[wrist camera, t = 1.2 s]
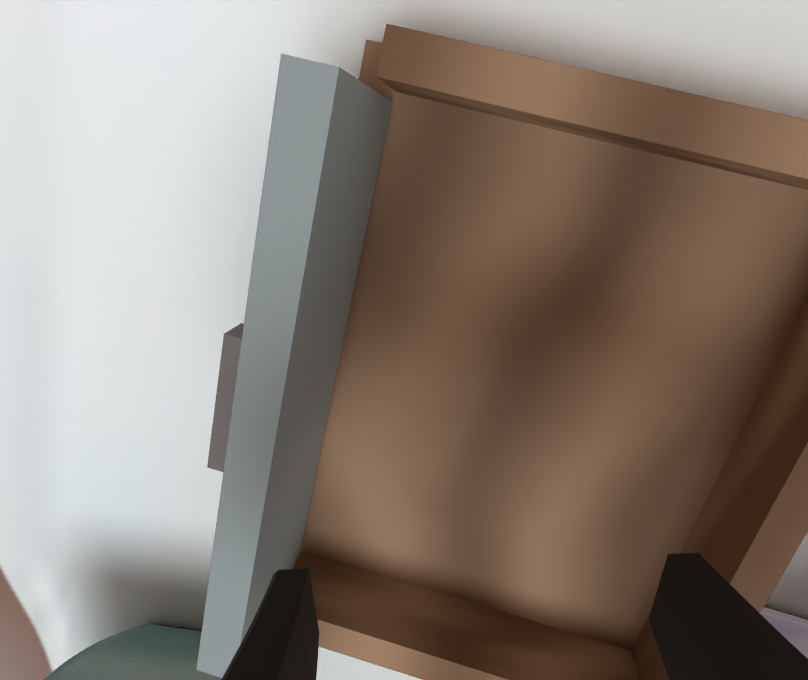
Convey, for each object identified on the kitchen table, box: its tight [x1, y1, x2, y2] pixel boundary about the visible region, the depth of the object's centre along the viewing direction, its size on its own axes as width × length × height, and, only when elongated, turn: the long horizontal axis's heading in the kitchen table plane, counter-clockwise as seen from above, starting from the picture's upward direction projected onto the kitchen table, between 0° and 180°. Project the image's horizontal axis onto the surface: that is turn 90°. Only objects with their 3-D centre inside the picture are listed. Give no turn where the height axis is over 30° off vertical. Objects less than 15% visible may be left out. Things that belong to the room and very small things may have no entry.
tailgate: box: [196, 54, 392, 678], centre depth 16 cm, size 2×17×6 cm, turn 167°
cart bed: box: [291, 24, 808, 680], centre depth 18 cm, size 16×20×4 cm
